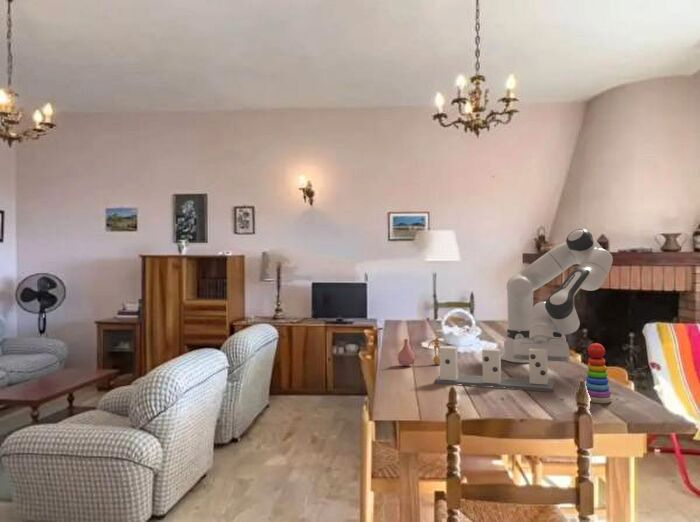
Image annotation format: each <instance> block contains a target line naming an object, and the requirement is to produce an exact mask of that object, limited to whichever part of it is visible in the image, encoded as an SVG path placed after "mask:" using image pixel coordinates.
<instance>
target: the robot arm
mask: <svg viewBox="0 0 700 522" xmlns="http://www.w3.org/2000/svg"><path fill="white" fill-rule="evenodd" d="M613 260H614V257H613V255H612V254H611V253H610V251H608V250H607V249H604V248H603V247H602V245H600V243H599V242H598V241H597V239H596V238H594V236H593V234H592V233H591V232H590V231H589V230H587V229H585V228H577V229H575V230H573V231H571V232H570V233H569V234H568V235H567V237H566V240H565V242H563V243H561V244H558V245H556V246H555V247H553V248H552V249H550V250H548V251H546V252H545V254H543V255H541V256H540V257H538V259H536V260H535V261H533V262H532V263H530V264H529V265H527V266H526V267H524V268H522V270H519V271H518V272H517V273H515V274H514V275H512V276H511V277H510V278H509V279H508V281H507V283H506V291H507V329H506V336H507V337H506V339H505V341H503V355H501V360H502V361H506V362H511V363H523V364H529V349H547V362H548V363H549V362H563V363H564V362H565V363H567V362H569V361H570V360H571V355H570V347H569V344H568V341H567V340H566V338H567V337H566V336H567V335H571V334H573V333H575V332H577V331H578V330H579V328H580V326H581V322H580V319H579V315H578V312H577V310H576V307H575V302H574V301H575V296H576V294H577V293H578V292H579V290H580V289H581V290H584V291H591V292H592V291H596V290H599V289H600V288H601V287H602V286H603V285H604V283H605V282H606V279H607V277H608V276H609V273H610V271H611V268H612V265H613ZM574 265H579V266H578V267H576V268H575V269H574V270H572V271H571V272H570V273H569V274H568V276H567V277H566V278H565V280H564V281H563V282H562V284H561V285H560V286H559V288H557V289H556V290H555V291H554V292H553V293H552V294H550V295H549V296H548V297H547V299H546V300H545V301H539V302H537V303H535V304H534V291H536V290H538V289H540V288H541V287H543V286H545V284H548V283H550V282H551V281H552V280H554V279H555V278H556V277H558V276H559V275H561V274H562V273H564V272H565V271H566V270H567V269H569V268H570V267H572V266H574Z"/></svg>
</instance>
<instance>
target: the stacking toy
mask: <svg viewBox="0 0 700 522" xmlns="http://www.w3.org/2000/svg"><path fill="white" fill-rule="evenodd" d="M587 353H588V355H589V356H590V357H589V358H588V361H587V362H588V365H587V369H588V370H587V372H586V374H587V376H586V383H585V387H586V386H587V387H586V388H587V390H588V393H589V395H590V398H591V402H590V403H594V404H608V403H611V402H612V400H613V399H612V396H611V395H612V391H611V390H610V384H609V381H610V380H609V378H608V372H607V369H608V367H607V366H606V365H605V364H606V359H605V358H604V356H605V354H606V349H605V347H604V346H603V345H602V344H601V343H597V342H595V343H592V344H590V345H589V346H588V347H587Z"/></svg>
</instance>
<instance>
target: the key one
mask: <svg viewBox="0 0 700 522" xmlns="http://www.w3.org/2000/svg"><path fill="white" fill-rule="evenodd" d="M439 350H440V353H439V355H440V365H439V376H440V379H441V380H454V381H456V380H457V379H458V375H459V362H458V361H459V360H458V359H459V358H458V357H459V355H458V346H446V347H445V346H440V348H439ZM439 350H438V351H439Z"/></svg>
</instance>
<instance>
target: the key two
mask: <svg viewBox="0 0 700 522" xmlns="http://www.w3.org/2000/svg"><path fill="white" fill-rule="evenodd" d="M501 352H502V351H501V348H485V347H484V348H483V349H482V350H481V358H482V361H481V363H482V376H483V383H496V384H500V383H501V377H502V363H501V360H502V359H501V356H502V355H501Z"/></svg>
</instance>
